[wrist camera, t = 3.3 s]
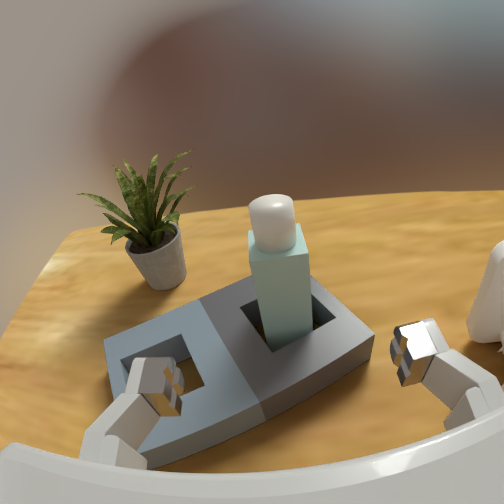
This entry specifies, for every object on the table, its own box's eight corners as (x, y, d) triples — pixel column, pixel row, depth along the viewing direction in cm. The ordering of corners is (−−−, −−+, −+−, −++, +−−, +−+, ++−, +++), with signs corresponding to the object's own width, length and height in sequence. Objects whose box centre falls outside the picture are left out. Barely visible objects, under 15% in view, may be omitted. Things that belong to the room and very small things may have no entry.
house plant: (250, 252, 41) (224, 130, 32) (191, 329, 32) (134, 185, 23) (168, 239, 48) (136, 140, 38) (108, 298, 38) (54, 187, 29)
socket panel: (293, 282, 35) (290, 257, 33) (370, 358, 25) (375, 333, 23) (118, 360, 29) (103, 339, 27) (149, 470, 19) (128, 457, 17)
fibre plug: (307, 319, 30) (295, 187, 23) (313, 351, 27) (305, 213, 19) (267, 325, 31) (241, 196, 23) (269, 357, 28) (240, 223, 20)
